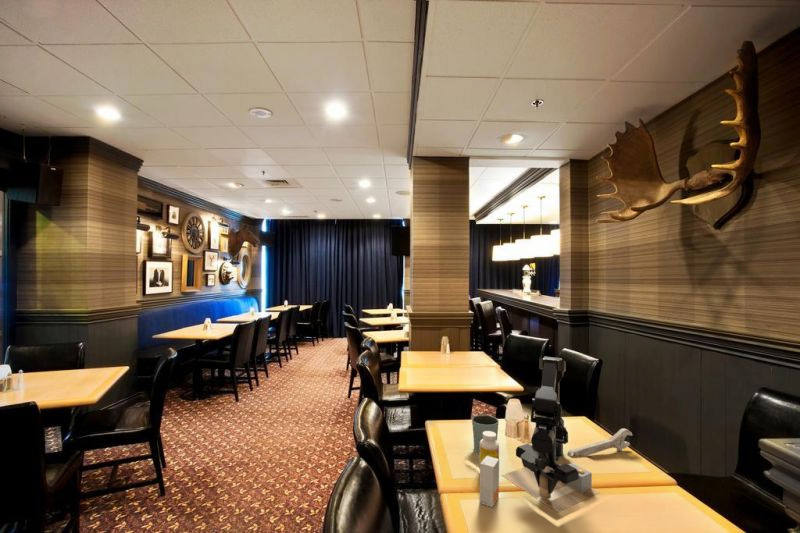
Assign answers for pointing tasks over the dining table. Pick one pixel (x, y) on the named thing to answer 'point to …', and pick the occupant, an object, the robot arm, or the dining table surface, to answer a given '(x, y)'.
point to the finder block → (581, 480)
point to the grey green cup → (483, 428)
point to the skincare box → (489, 481)
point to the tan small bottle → (544, 485)
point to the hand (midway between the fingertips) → (545, 490)
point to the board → (560, 496)
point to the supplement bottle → (488, 446)
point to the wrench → (604, 444)
